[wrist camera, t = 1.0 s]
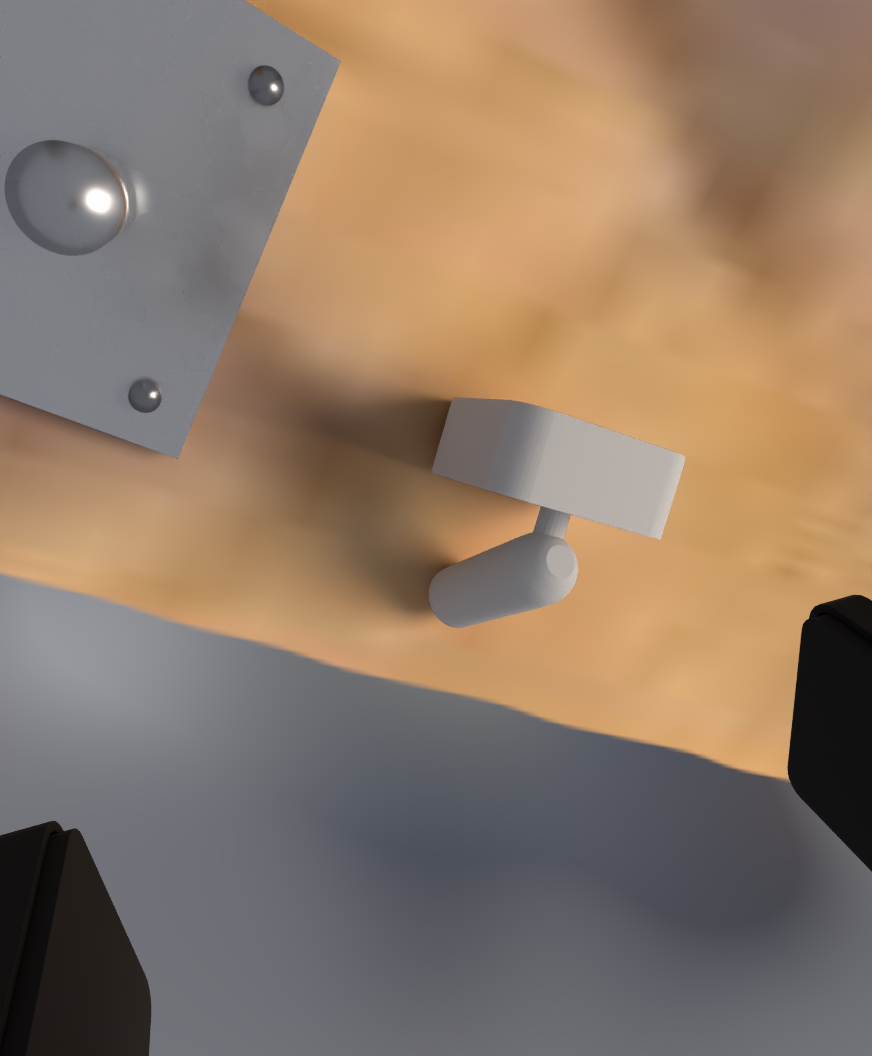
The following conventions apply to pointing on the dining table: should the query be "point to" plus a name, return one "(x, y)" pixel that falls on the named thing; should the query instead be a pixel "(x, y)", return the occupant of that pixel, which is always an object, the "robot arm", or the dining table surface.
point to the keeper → (139, 197)
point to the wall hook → (542, 499)
